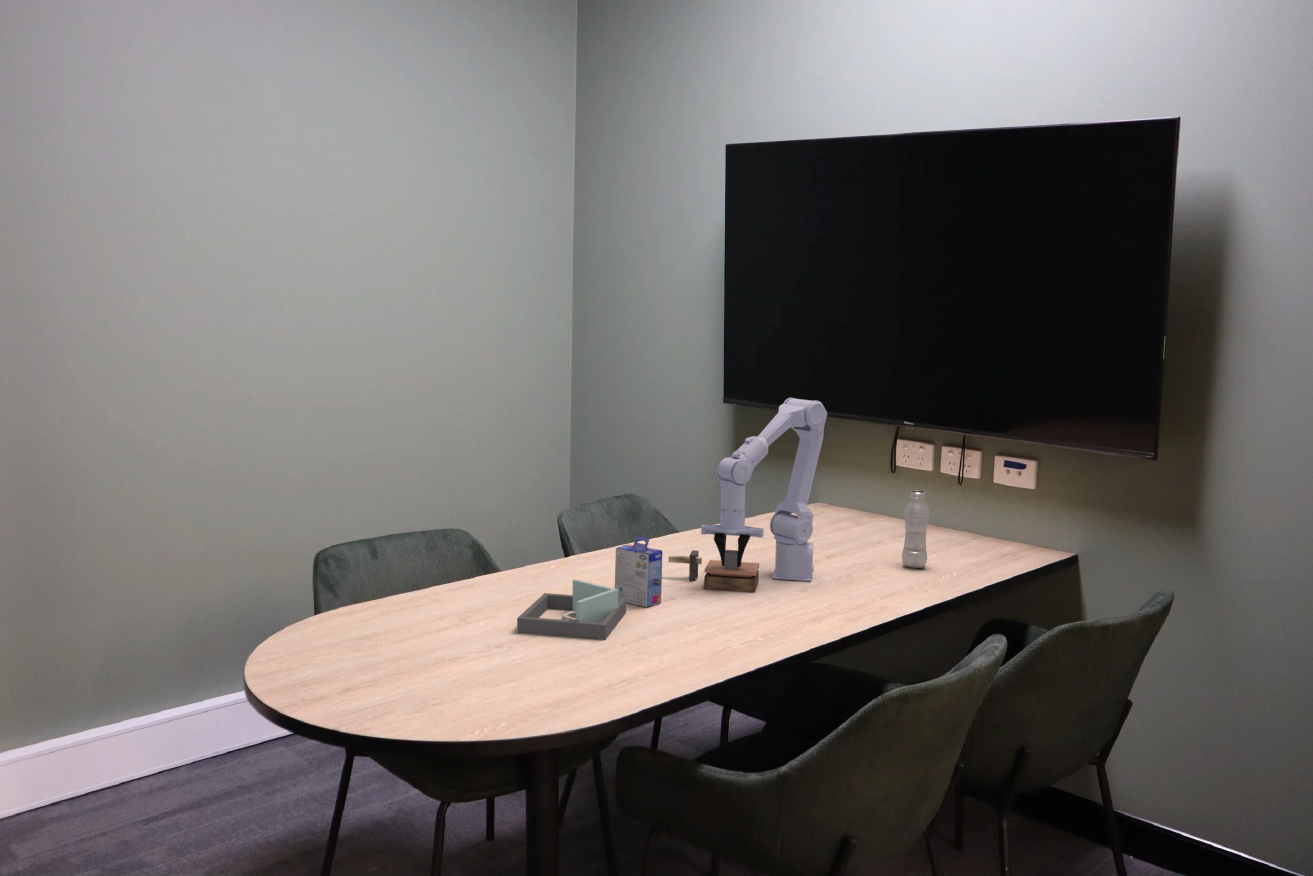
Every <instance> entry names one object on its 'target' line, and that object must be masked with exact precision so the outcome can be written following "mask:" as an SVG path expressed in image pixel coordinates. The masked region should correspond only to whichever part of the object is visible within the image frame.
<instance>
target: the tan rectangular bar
mask: <svg viewBox="0 0 1313 876" xmlns="http://www.w3.org/2000/svg"><path fill="white" fill-rule="evenodd" d="M667 559H668V561H667V562H668V563H674V564H689V563H690V555H688V556H687V555H675V554H674V555H673V554H669V555H668V558H667ZM702 563H703V557H702V556H698V557H696V564H698V565H702Z"/></svg>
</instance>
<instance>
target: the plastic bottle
mask: <svg viewBox="0 0 1313 876" xmlns="http://www.w3.org/2000/svg"><path fill="white" fill-rule="evenodd" d="M909 498H910V500H909V502H908V503H907V505H905V508H904V510H903V515H904V525H905V528H904V529H905V530H904V531H905V533H904V541H903V542H904V543H903V549H902V552H901V562H902V564H903V566H905V567H907V568H912V569H919V568H920V569H921V568H924V567H925V566H926V565H927V563H928V562H927V560H928V554H927V553H928V552H927V538H926V537H927V531H928V525H929V524H928V523H929V520H930V509H929V506H928V505H927V504H926V501H925V499H926V491H925V490H916V489H913V490H910V496H909Z"/></svg>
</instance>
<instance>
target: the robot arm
mask: <svg viewBox="0 0 1313 876" xmlns="http://www.w3.org/2000/svg"><path fill="white" fill-rule="evenodd" d="M827 417H828V412H827V410H826V408H825V406H824V405H823V403H822V402H821V401H819V400H809V399H800V398H795V397H788V398H786V399H785V400H784V402H783V403H782V404H780V405H779V407H778V412H777V414H775V416H774V417H773V418H772V419H771V420H770V421H769V422H768V424H767V425H766V426H765V428H764V429H763V430H761V432H760V433H759V435H757V436H753V435H752V436H750V437H747V438H745V440H744V443H743V444H742V445H741V446H739V448H738V449H736V450H735V451H733V453H732V454H731V456H730V457H725V458H723V459H721V461H720V462H719V464H718V465H717V469H716V468H715V474H716V477H717V479H718V481H719V487H720V516H719V517H720V521H719V522H720V524H702V525H701V527H700V534H701V535H703V536H704V535H714V536H713V541H714V544H715V546H716V547H717V550H718V552H719V557H720V561H721V562H722V566H724V560H725V551H726V550H727V549H726V548H727V536H734V537H735V536H737V537H738V539H737V550H738V560H737V567H740V566H741V562H743V561H742V559H743V556H744V552H745V550H746V548H747V545H748V543H749V540H750V539H751V537H752V538H753V537H754V538H758V539H759V538H760V539H763V538H764V530H765V529H764V527H754V526H746V523H745V521H746V488H747V487H746V485H747V483H748V482H749V481H750V480H751V477H752V473H753V471H754V470H755V468H756V466H757V465H758V464H759V463H760V462H761V461H762V460H763V459H764V458H766V456H767V455H768V454H769V447H770V445H772V444H773V443H774V442H775V441H776V440H778V438H780V437H781V436H782V435H783V434H785V432H786V431H788V430H789V429H792V430H793V431H794V432H795V433H796V435H797V436H798V437H799V443H798V445H797V446H798V447H797V451H796V454H795V457H794V458H795V459H794V463H793V468H792V471H791V476H790V480H789V483H788V486H787V488H788V489H787V491H786V495H785V499H784V500H783V501H782V502H780V503H779V504H778V505H777V506H776V508H775V512H774V513H773V515H772V517H771V518H770V520H769V521H770V522H769V531H770V532H771V534H772V535H773V539H774V540H775V559H774V560H775V563H774V570H773V573H772V577H771V578H772V579H775V580H785V581H786V580H787V581H804V582H812V578H813V573H814V571H815V566H814V565H813V564H814V542H809V540H810V539H811V537H812V534H813V530H814V526H813V520H814V515H815V514H813V512H812V511H811V509H810V508H809V506H808V504H809V503H808V502H809V499H810V496H811V495H810V494H811V491H812V486H813V482H814V479H815V478H814V477H815V473H816V470H817V466H818V462H819V457H820V453H821V450H822V449H821V448H822V445H823V441H824V432H825V431H824V429H825V425H826V420H827ZM795 514H796V515H795Z"/></svg>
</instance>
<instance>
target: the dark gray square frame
mask: <svg viewBox="0 0 1313 876" xmlns="http://www.w3.org/2000/svg"><path fill="white" fill-rule="evenodd" d="M572 605H573V594H561V593H560V594H559V593H551V592H550V593H547V592H544V593H543V594H542V595H541V596H539V598H537V599H536V600H535V601H534V602H533V603H531V604H530V606H529V607H528V608H526V609H525V610H524V611H523V612H522V613H521V614H520V615H519V616H518V617H517V618H516V621H517V622H516V624H517V625H516V632H517V633H518V634H532V635H544V636H554V637H555V636H556V637H565V638H568V637H569V638H579V639H590V640H591V639H592V640H604V641H606V640H607V639H608V637H609V636H610V635H611V633H612V632H613V631H614V629H615V628H616V626H617V625H618V624H619V623H620V621H621V620H622V618H623V617H624V616H625V615H626V614H627V602H626V599H618V608H616V609H614V610H611V612H610V613H609V614H608V615H607V617H606V618H605V619H604V620H603V622H602V623H596V622H583V621H571V620H561V619H558V618H557V619H556V618H554V619H553V618H546V617H545V618H544V617H543V618H542V617H541V616H542V615H543V614H544V613H545V612H546V611H547V610H548V609H552V610H566V611H572Z"/></svg>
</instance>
